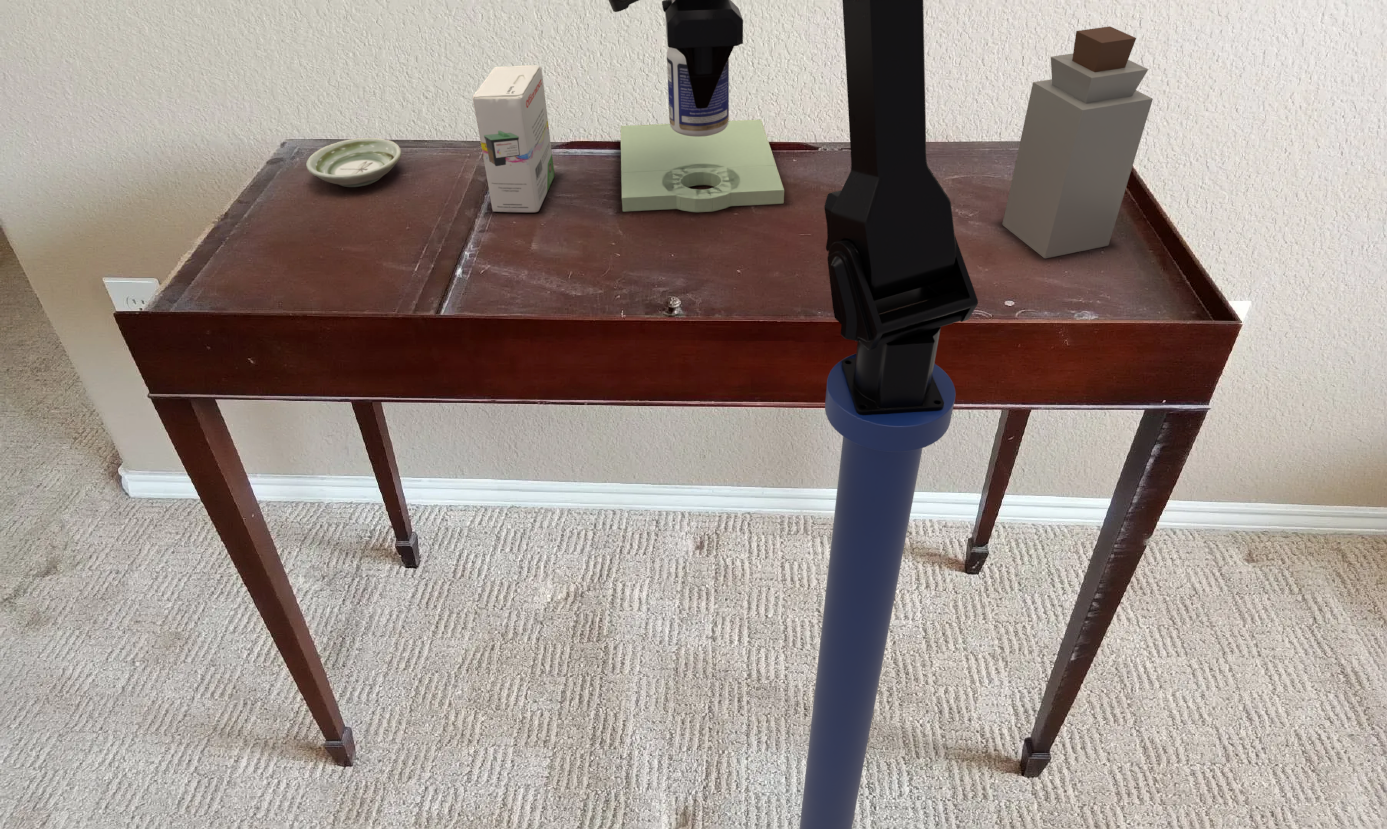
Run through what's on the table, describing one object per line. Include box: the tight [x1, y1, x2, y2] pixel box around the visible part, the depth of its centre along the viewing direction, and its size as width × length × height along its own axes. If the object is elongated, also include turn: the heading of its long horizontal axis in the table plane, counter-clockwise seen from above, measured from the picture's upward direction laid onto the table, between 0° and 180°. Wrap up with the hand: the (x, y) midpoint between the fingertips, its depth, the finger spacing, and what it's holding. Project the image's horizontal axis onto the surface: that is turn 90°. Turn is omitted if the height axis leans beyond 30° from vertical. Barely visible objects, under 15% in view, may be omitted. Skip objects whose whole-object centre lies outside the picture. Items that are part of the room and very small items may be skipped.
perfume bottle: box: [1001, 25, 1154, 259], centre depth 79 cm, size 7×7×18 cm
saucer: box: [305, 137, 402, 188], centre depth 97 cm, size 10×10×2 cm
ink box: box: [472, 64, 555, 213], centre depth 90 cm, size 8×5×12 cm, turn 175°
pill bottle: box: [666, 47, 730, 137], centre depth 85 cm, size 6×6×10 cm
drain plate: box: [619, 119, 785, 213], centre depth 97 cm, size 19×16×2 cm
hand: (699, 95), depth 86 cm, fingers closed on pill bottle, 6 cm apart
